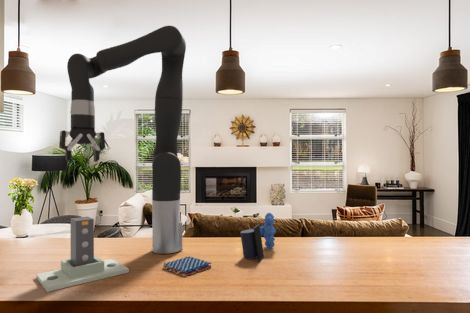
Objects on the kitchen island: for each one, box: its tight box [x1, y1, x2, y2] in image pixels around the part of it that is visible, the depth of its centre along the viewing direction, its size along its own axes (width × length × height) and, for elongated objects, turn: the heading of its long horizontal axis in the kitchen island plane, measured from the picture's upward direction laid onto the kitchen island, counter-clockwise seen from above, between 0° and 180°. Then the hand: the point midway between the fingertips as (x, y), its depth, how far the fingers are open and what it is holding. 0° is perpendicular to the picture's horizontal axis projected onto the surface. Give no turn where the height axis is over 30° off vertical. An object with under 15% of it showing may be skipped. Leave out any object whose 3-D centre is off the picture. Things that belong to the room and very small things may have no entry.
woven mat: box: [162, 256, 212, 277], centre depth 95 cm, size 10×11×2 cm
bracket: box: [36, 254, 130, 293], centre depth 90 cm, size 20×12×4 cm, turn 131°
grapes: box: [259, 212, 277, 250], centre depth 116 cm, size 12×7×12 cm, turn 176°
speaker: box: [240, 224, 265, 263], centre depth 105 cm, size 8×6×10 cm
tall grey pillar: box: [70, 216, 95, 267], centre depth 90 cm, size 4×5×14 cm
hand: (83, 161), depth 114 cm, fingers open, 8 cm apart
